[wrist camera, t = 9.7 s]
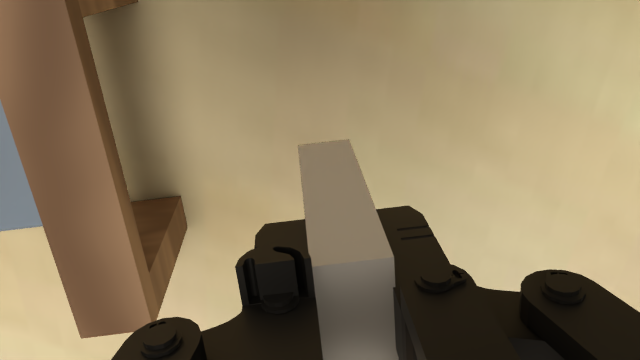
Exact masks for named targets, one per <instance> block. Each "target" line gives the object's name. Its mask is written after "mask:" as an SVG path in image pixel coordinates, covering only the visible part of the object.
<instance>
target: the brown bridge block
mask: <svg viewBox="0 0 640 360" xmlns="http://www.w3.org/2000/svg"><path fill="white" fill-rule="evenodd" d="M135 2H138V0H0V100H1V103H2V106H3V109H4V112H5V115H6V118H7V121H8V124H9V127H10V130H11V133H12V136H13V139H14V142H15V145H16V148H17V151H18V154H19V157H20V160H21V163H22V165H23V168H24V171H25V174H26V177H27V180H28V183H29V186H30V189H31V192H32V195H33V198H34V201H35V204H36V207H37V210H38V213H39V216H40V219H41V222H42V225H43V227H44V230H45V233H46V236H47V239H48V242H49V245H50V248H51V251H52V254H53V257H54V260H55V263H56V266H57V269H58V272H59V275H60V278H61V281H62V284H63V287H64V290H65V292H66V295H67V298H68V301H69V304H70V307H71V310H72V313H73V316H74V319H75V322H76V325H77V328H78V331H79V334H80V337H81V338H89V337H97V336H105V335H113V334H121V333H129V332H135V331H136V330H138V329H139V328H141V327H143V326H145V325H146V324H148V323H151V322H154V321H156V320H157V317H158V314H159V311H160V308H161V305H162V302H163V299H164V296H165V293H166V290H167V287H168V284H169V281H170V278H171V275H172V272H173V269H174V266H175V263H176V260H177V257H178V254H179V251H180V248H181V245H182V242H183V239H184V236H185V233H186V230H187V223H186V218H185V214H184V209H183V205H182V200H181V196H178V197H169V198H161V199H152V200H144V201H135V202H130V198H129V194H128V190H127V186H126V183H125V179H124V175H123V171H122V167H121V163H120V159H119V156H118V152H117V148H116V144H115V140H114V136H113V133H112V129H111V125H110V121H109V117H108V113H107V109H106V106H105V102H104V98H103V94H102V90H101V86H100V83H99V79H98V75H97V71H96V67H95V63H94V59H93V56H92V52H91V48H90V44H89V40H88V36H87V33H86V29H85V25H84V21H83V17H86V16H89V15H93V14H96V13H100V12H103V11H107V10H110V9H114V8H117V7H121V6H124V5H128V4H131V3H135Z"/></svg>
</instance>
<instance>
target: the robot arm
mask: <svg viewBox="0 0 640 360" xmlns="http://www.w3.org/2000/svg"><path fill="white" fill-rule="evenodd" d="M298 150H299V161H300V171H301V181H302V191H303V201H304V212H305V219H303V220H294V221H286V222H277V223H269V224H265V225H264V226H263V227H262V228H261V229H260V231H259V232H258V233H257V234H256V236H255V249H253V250H250V251H248V252H247V253H246V254H244V255H243V256H242V257H241V258H240V259H239V260H238V262H237V264H236V266H235V268H236V273H237V279H238V284H239V290H240V295H241V300H242V312H241V313H240V314H239V315H237V316H236V317H234V318H233V319H231V320H230V321H228V322H226V323H224V324H221V325H219V326H216V327H213V328H210V329H208V330H205V331H202V332H201V331H200V329H199V326H198V325H197V324H196V323H195V322H193V321H192V320H190V319H186V318H180V317H173V318H163V319H160V320H157V321H154V322H151V323H148V324H146V325H145V326H143V327H141V328H139V329H138V330H136V331H135V332H134V333H133V334H132V335H131V336H130V337H129V338H128V339H127V340H126V341H125V342H124V343H123V344H122V346H121V347H120V349H119V350H118V351H117V353H116V354H115V355H114V357H113V358H112V359H111V360H640V312H638V311H637V310H635V309H634V308H632V307H631V306H629V305H628V304H627V303H625V302H624V301H622V300H621V299H619V298H618V297H616V296H615V295H613V294H612V293H610V292H609V291H607V290H606V289H605V288H603V287H602V286H600V285H599V284H597V283H596V282H594V281H592V280H590V279H588V278H586V277H584V276H582V275H580V274H576V273H573V272H569V271H565V270H543V271H536V272H534V273H532V274H530V275H528V276H526V277H525V279H524V280H523V281H522V283H521V291H520V292H513V291H501V290H492V289H486V288H482V287H479V286H477V285H476V284H475V282H474V280H473V279H472V277H471V276H470V275H469V274H468V273H467V272H466V271H465V270H463V269H461V268H459V267H457V266H455V265H451V264H450V263H449V261H448V259H447V257H446V255H445V254H444V252H443V250H442V248H441V246H440V245H439V243H438V241H437V239H436V238H435V237H434V234H433V232H432V230H431V229H430V227H429V225H428V223H427V221H426V220H425V218H424V216H423V214H421V213H420V212H418V211H417V210H415V209H413V208H412V207H410V206H401V207H393V208H384V209H375V206H374V203H373V201H372V198H371V195H370V193H369V190H368V188H367V185H366V182H365V180H364V177H363V175H362V172H361V169H360V167H359V164H358V161H357V159H356V156H355V154H354V151H353V148H352V146H351V143H350V141H349V139H348V140H339V141H330V142H321V143H312V144H303V145H298Z"/></svg>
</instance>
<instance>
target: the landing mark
mask: <svg viewBox="0 0 640 360" xmlns="http://www.w3.org/2000/svg"><path fill="white" fill-rule="evenodd" d="M40 226H43V225H42V222H41V219H40V216H39V213H38V210H37V207H36V204H35V201H34V198H33V195H32V192H31V189H30V186H29V183H28V180H27V177H26V174H25V171H24V168H23V165H22V163H21V160H20V157H19V154H18V151H17V148H16V145H15V142H14V139H13V136H12V133H11V130H10V127H9V124H8V121H7V118H6V115H5V112H4V109H3V106H2V103H1V100H0V231H6V230H14V229H23V228H31V227H40Z"/></svg>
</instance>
